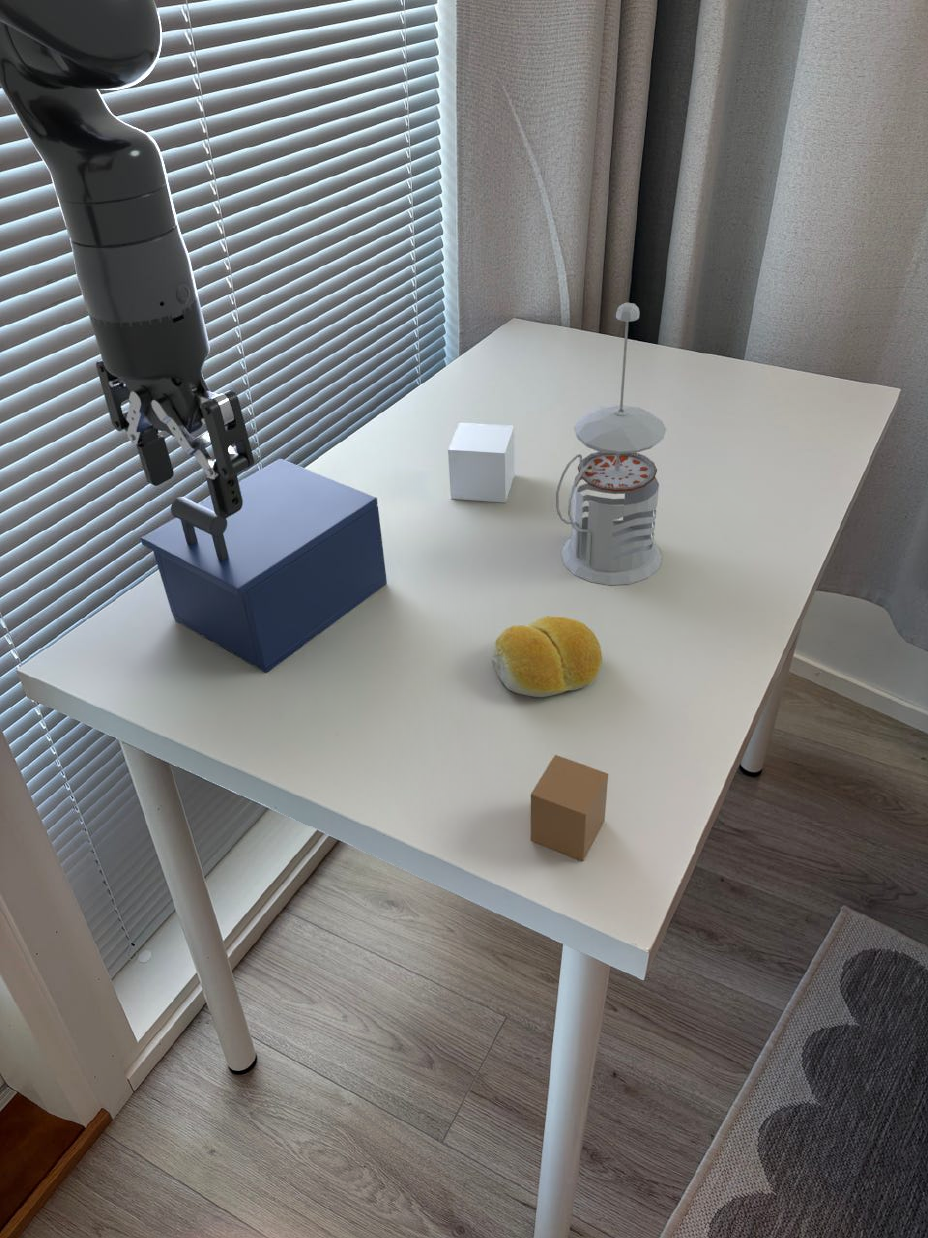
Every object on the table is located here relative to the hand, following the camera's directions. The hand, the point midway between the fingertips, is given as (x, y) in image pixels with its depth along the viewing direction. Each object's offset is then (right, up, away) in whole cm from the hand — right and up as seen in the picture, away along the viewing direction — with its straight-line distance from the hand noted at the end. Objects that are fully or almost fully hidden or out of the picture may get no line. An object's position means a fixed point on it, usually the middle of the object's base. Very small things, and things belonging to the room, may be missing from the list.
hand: (195, 496), depth 76 cm
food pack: (+29, -25, -9) cm, 39 cm away
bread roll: (+29, -14, +4) cm, 32 cm away
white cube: (+24, +5, +28) cm, 37 cm away
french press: (+35, -4, +16) cm, 39 cm away
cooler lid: (+4, -1, +7) cm, 8 cm away
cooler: (+5, -8, +13) cm, 16 cm away
